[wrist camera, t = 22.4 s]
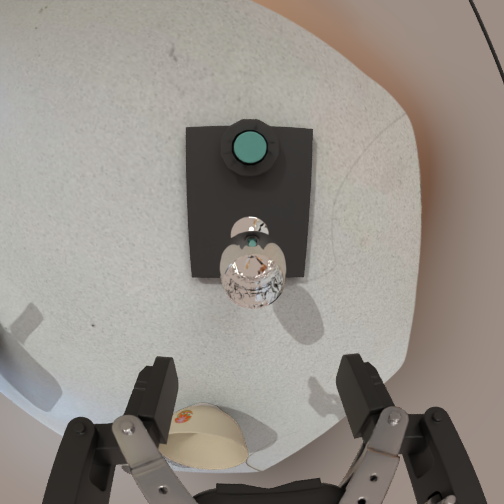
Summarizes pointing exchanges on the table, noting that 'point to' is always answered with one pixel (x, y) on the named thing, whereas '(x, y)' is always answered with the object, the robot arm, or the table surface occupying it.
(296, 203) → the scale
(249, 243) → the wineglass
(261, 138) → the power button
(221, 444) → the bowl
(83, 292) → the table surface
